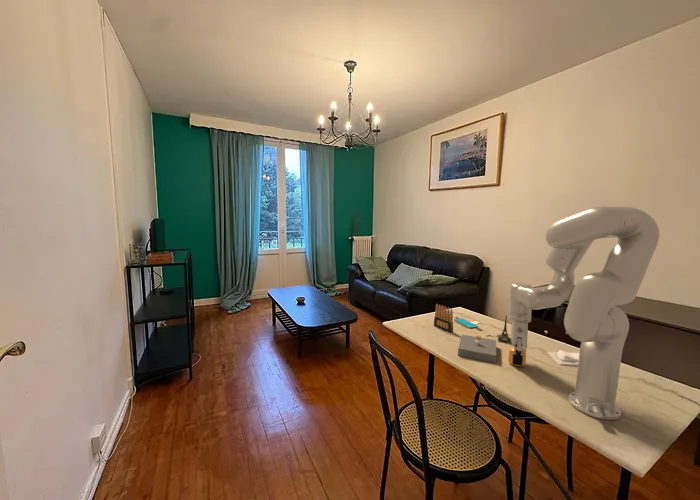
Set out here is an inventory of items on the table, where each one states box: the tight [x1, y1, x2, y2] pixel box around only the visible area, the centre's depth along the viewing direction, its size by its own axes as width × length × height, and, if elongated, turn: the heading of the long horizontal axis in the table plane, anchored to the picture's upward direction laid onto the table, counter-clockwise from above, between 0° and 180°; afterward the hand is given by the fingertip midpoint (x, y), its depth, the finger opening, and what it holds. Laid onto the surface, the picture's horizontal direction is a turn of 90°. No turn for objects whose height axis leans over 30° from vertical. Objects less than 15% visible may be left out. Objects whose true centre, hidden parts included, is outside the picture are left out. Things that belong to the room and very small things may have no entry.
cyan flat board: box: [453, 316, 482, 331], centre depth 162 cm, size 20×12×2 cm, turn 19°
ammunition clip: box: [433, 303, 454, 334], centre depth 154 cm, size 11×2×12 cm, turn 33°
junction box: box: [457, 334, 497, 364], centre depth 130 cm, size 16×14×7 cm
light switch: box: [547, 349, 580, 368], centre depth 123 cm, size 11×4×13 cm
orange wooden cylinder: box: [508, 345, 527, 367], centre depth 119 cm, size 6×6×5 cm
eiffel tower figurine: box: [485, 315, 512, 345], centre depth 140 cm, size 15×10×13 cm
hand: (516, 360), depth 119 cm, fingers closed on orange wooden cylinder, 5 cm apart
